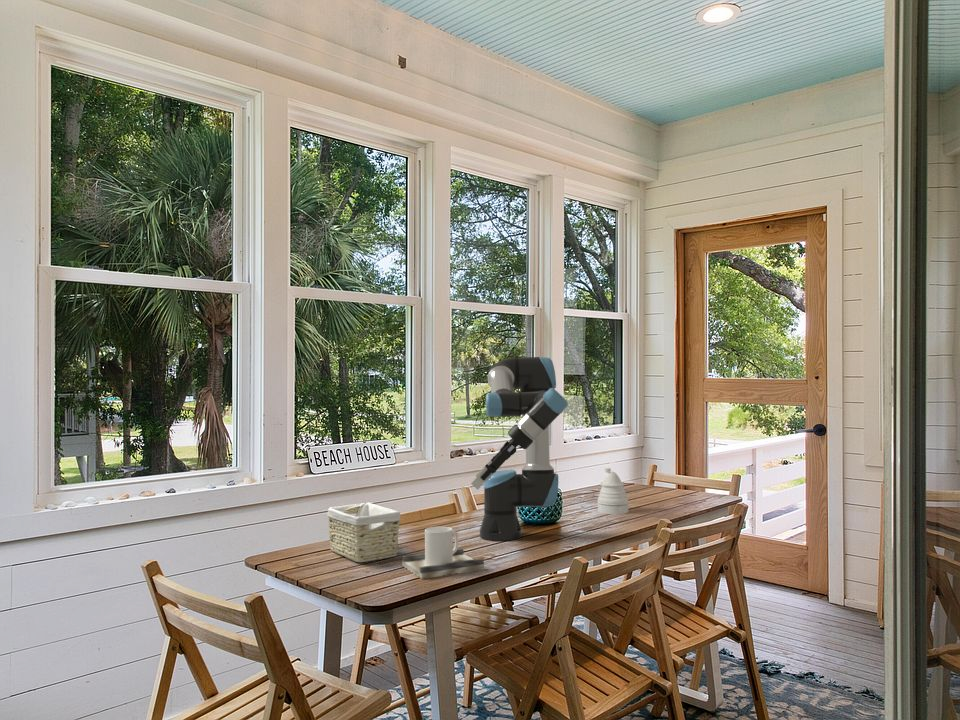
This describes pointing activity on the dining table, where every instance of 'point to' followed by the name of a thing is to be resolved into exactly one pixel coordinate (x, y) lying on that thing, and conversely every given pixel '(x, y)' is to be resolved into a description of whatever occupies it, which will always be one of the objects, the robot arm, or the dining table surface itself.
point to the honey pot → (612, 495)
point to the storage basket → (364, 531)
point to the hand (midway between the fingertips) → (476, 482)
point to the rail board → (442, 565)
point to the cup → (439, 545)
